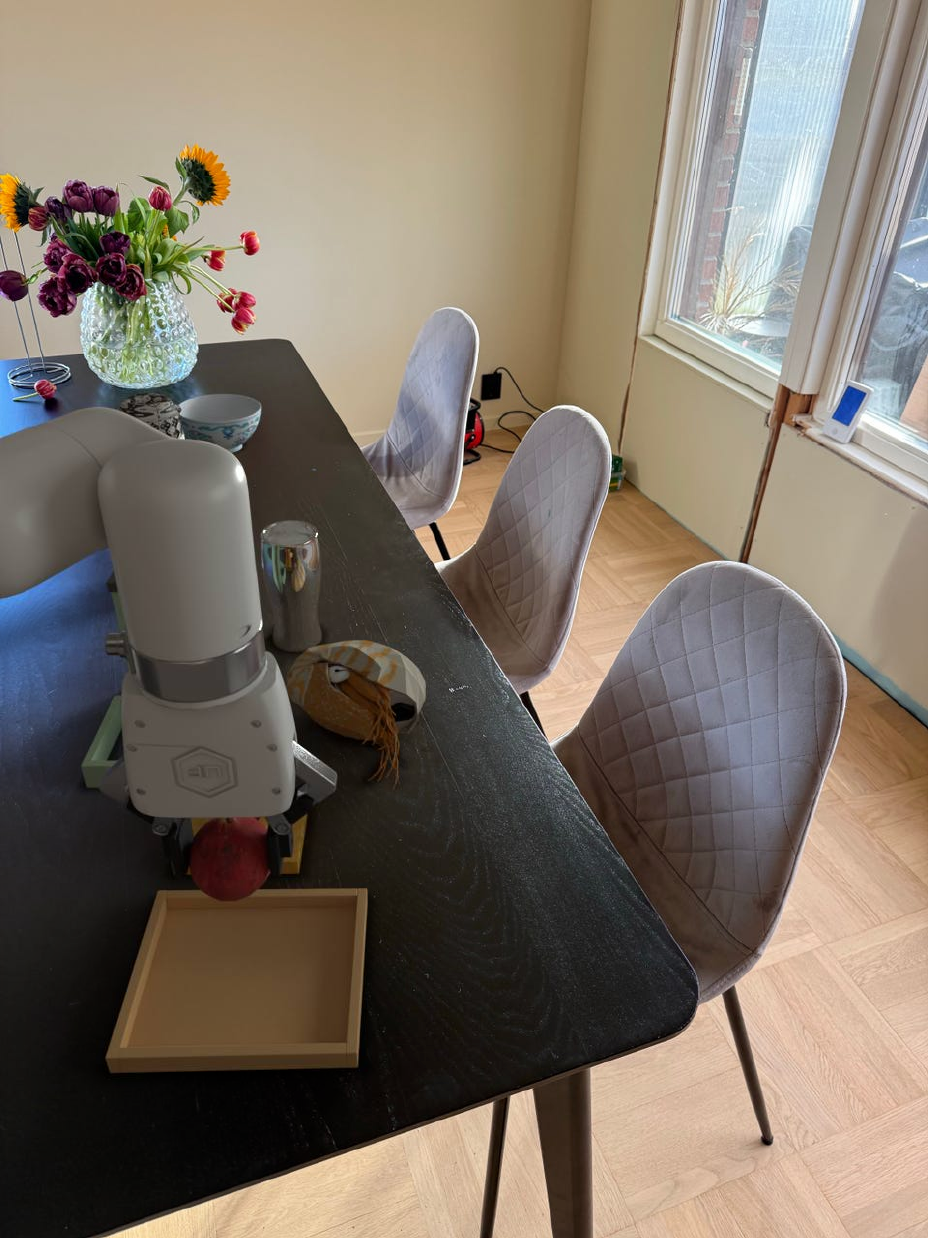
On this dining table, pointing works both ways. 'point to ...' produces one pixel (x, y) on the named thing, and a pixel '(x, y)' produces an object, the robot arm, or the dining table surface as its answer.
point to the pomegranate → (229, 858)
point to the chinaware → (221, 419)
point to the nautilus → (359, 692)
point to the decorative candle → (155, 413)
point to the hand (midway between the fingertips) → (232, 858)
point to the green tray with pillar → (105, 718)
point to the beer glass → (292, 582)
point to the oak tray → (245, 983)
